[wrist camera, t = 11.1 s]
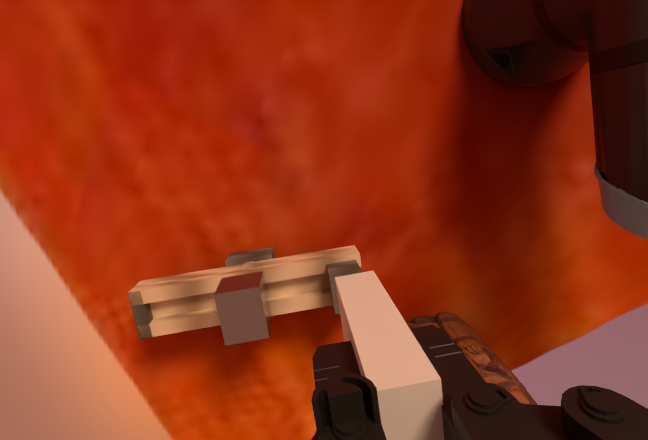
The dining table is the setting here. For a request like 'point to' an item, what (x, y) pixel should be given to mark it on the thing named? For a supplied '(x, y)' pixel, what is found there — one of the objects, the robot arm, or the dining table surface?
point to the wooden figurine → (477, 354)
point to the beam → (199, 287)
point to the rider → (243, 308)
